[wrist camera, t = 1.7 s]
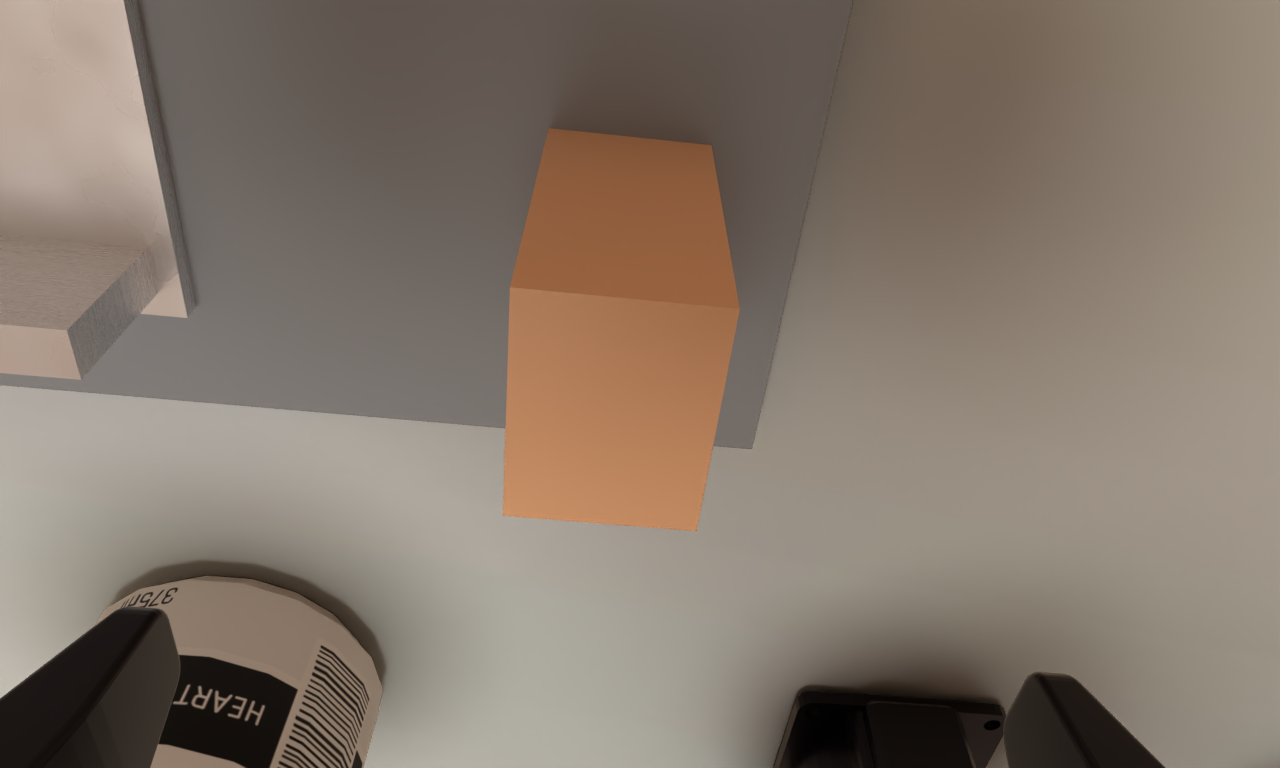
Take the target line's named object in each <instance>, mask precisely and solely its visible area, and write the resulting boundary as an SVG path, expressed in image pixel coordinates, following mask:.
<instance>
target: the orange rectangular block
mask: <svg viewBox="0 0 1280 768" xmlns="http://www.w3.org/2000/svg"><path fill="white" fill-rule="evenodd" d="M739 311H740V307H739V301H738V296H737V290H736V284H735V278H734V273H733V267H732V261H731V255H730V249H729V244H728V238H727V232H726V226H725V220H724V215H723V209H722V203H721V197H720V191H719V186H718V180H717V174H716V168H715V163H714V157H713V151H712V145H705V144H695V143H686V142H676V141H667V140H657V139H648V138H638V137H629V136H619V135H609V134H600V133H590V132H581V131H571V130H562V129H552V128H549V129H548V133H547V137H546V141H545V145H544V149H543V154H542V158H541V162H540V166H539V170H538V174H537V178H536V182H535V186H534V190H533V195H532V199H531V203H530V207H529V211H528V215H527V219H526V223H525V227H524V231H523V235H522V240H521V244H520V248H519V252H518V256H517V260H516V264H515V268H514V272H513V276H512V280H511V285H510V299H509V332H508V366H507V399H506V433H505V466H504V500H503V516H514V517H527V518H539V519H552V520H564V521H577V522H589V523H602V524H614V525H627V526H639V527H652V528H664V529H677V530H689V531H697V527H698V521H699V516H700V511H701V506H702V501H703V496H704V491H705V485H706V480H707V475H708V470H709V465H710V460H711V455H712V449H713V444H714V439H715V434H716V429H717V424H718V419H719V413H720V408H721V403H722V398H723V393H724V388H725V383H726V377H727V372H728V367H729V362H730V357H731V352H732V347H733V341H734V336H735V331H736V326H737V321H738V316H739Z"/></svg>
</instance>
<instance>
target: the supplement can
mask: <svg viewBox="0 0 1280 768" xmlns="http://www.w3.org/2000/svg"><path fill="white" fill-rule="evenodd" d="M128 606H132V607H146V608H158V609H162V610H163V611H164V612H165V613H166V614H167V616H168V618H169V621H170V625H171V628H172V632H173V636H174V639H175V643H176V647H177V650H178V654H179V658H180V676H179V681H178V685H177V688H176V691H175V694H174V697H173V700H172V703H171V706H170V709H169V712H168V715H167V718H166V721H165V725H164V728H163V731H162V734H161V737H160V740H159V743H158V746H157V749H156V752H155V755H154V758H153V761H152V764H151V767H150V768H364V764H365V760H366V757H367V753H368V749H369V746H370V742H371V738H372V735H373V731H374V727H375V724H376V720H377V715H378V711H379V706H380V701H381V696H382V691H383V688H382V686H381V683H380V680H379V677H378V675H377V672H376V669H375V666H374V663H373V661H372V658H371V656H370V655H369V654H368V653H367V652H366V651H365V650H364V649H363V648H362V647H361V646H360V645H359V642H358V640H357V639H356V638H355V637H354V636H353V635H352V634H351V633H350V632H349V630H348V629H347V628H346V627H345V626H344V625H343V624H342V623H341V622H340V621H339V620H338V619H337V618H336V616H335V615H334V614H332V613H330V612H329V611H327V610H325V609H324V608H322V607H320V606H318V605H317V604H315V603H313V602H312V601H310V600H308V599H307V598H305V597H303V596H301V595H300V594H298V593H296V592H293V591H290V590H286V589H283V588H280V587H277V586H273V585H270V584H267V583H264V582H260V581H257V580H254V579H245V578H232V577H218V576H202V577H197V578H191V579H186V580H180V581H175V582H170V583H165V584H162V585H157V586H151V587H146V588H141V589H138V590H137V591H135V592H133V593H132V594H130V595H128V596H127V597H125V598H123V599H121V600H120V601H118V602H116V603H115V604H113V605H111V606H110V607H108V608H106V609H105V610H104V612H103V613H102V615H101V616H100V618H99V620H98V621H97V623H96V624H95V625H97V624H98V623H99V622H100V621H102V620H103V619H104V618H106V617H107V616H108V615H110V614H111V613H112V612H114V611H115V610H117V609H120V608H122V607H128Z"/></svg>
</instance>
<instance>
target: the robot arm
mask: <svg viewBox="0 0 1280 768" xmlns="http://www.w3.org/2000/svg"><path fill="white" fill-rule="evenodd" d="M179 676H180V658H179V654H178V650H177V647H176V643H175V639H174V636H173V632H172V628H171V625H170V621H169V618H168V616H167V614H166V613H165V612H164V611H163V610H162V609H158V608H146V607H132V606H128V607H122V608H120V609H117V610H115V611H114V612H112V613H111V614H110V615H108V616H107V617H106V618H104V619H103V620H102V621H100V622H99V623H98V624H97V625H95V626H94V627H93V628H91V629H90V630H89V631H87V632H86V633H85V634H84V635H82V636H81V637H80V638H78V639H77V640H76V641H74V642H73V643H72V644H71V645H69V646H68V647H67V648H65V649H64V650H63V651H61V652H60V653H59V654H58V655H56V656H55V657H54V658H52V659H51V660H50V661H48V662H47V663H46V664H44V665H43V666H42V667H41V668H39V669H38V670H37V671H35V672H34V673H33V674H31V675H30V676H29V677H28V678H26V679H25V680H24V681H22V682H21V683H20V684H18V685H17V686H16V687H15V688H13V689H12V690H11V691H9V692H8V693H7V694H5V695H4V696H3V697H2V698H0V768H150V767H151V764H152V761H153V758H154V755H155V752H156V749H157V746H158V743H159V740H160V737H161V734H162V731H163V728H164V725H165V721H166V718H167V715H168V712H169V709H170V706H171V703H172V700H173V697H174V694H175V691H176V688H177V685H178V681H179ZM1003 735H1004V744H1005V749H1006V755H1007V760H1008V766H1009V768H1165V767H1164V766H1163V765H1162V764H1161V763H1160V762H1159V761H1158V760H1157V759H1156V758H1155V757H1154V756H1153V755H1152V754H1151V753H1150V752H1149V751H1148V750H1147V749H1146V748H1145V747H1144V746H1143V745H1142V744H1141V743H1140V742H1139V741H1138V740H1137V739H1136V738H1135V737H1134V736H1133V735H1132V734H1131V733H1130V732H1129V731H1128V730H1127V729H1126V728H1125V727H1124V726H1123V725H1122V724H1121V723H1120V722H1119V721H1118V720H1117V719H1116V718H1115V717H1114V716H1113V715H1112V714H1111V713H1110V712H1109V711H1108V710H1107V709H1106V708H1105V707H1104V706H1103V705H1102V704H1101V703H1100V702H1099V701H1098V700H1097V699H1096V698H1095V697H1094V696H1093V695H1092V694H1091V693H1090V692H1089V691H1088V690H1087V689H1086V688H1085V687H1084V686H1083V685H1082V684H1081V683H1080V682H1078V681H1077V680H1076V679H1075V678H1073V677H1071V676H1069V675H1066V674H1057V673H1043V672H1035V673H1033V674H1031V675H1030V676H1028V677H1027V679H1026V680H1025V682H1024V684H1023V686H1022V688H1021V690H1020V691H1019V693H1018V695H1017V697H1016V699H1015V701H1014V702H1013V704H1012V706H1011V708H1010V710H1009V712H1008V713H1007V715H1006V713H1005V711H1004V708H1003V707H1001V706H1000V705H997V704H990V703H976V702H962V701H947V700H933V699H919V698H905V697H890V696H876V695H862V694H848V693H833V692H819V691H810V692H806V693H803V694H801V695H800V696H798V697H797V699H796V700H795V703H794V706H793V709H792V713H791V716H790V719H789V722H788V725H787V728H786V731H785V734H784V737H783V740H782V743H781V746H780V749H779V753H778V756H777V759H776V762H775V765H774V768H985V767H986V766H987V764H988V762H989V760H990V758H991V757H992V755H993V753H994V751H995V749H996V747H997V746H998V744H999V742H1000V740H1001V738H1002V737H1003Z"/></svg>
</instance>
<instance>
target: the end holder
mask: <svg viewBox="0 0 1280 768" xmlns="http://www.w3.org/2000/svg"><path fill="white" fill-rule="evenodd" d="M196 307H197V302H196V296H195V291H194V286H193V281H192V276H191V270H190V265H189V260H188V255H187V250H186V244H185V239H184V234H183V229H182V224H181V218H180V213H179V208H178V203H177V198H176V192H175V187H174V182H173V177H172V171H171V166H170V161H169V156H168V151H167V145H166V140H165V135H164V130H163V125H162V119H161V114H160V109H159V104H158V99H157V93H156V88H155V83H154V78H153V73H152V67H151V62H150V57H149V52H148V47H147V41H146V36H145V31H144V26H143V21H142V15H141V10H140V5H139V0H0V373H6V374H18V375H29V376H41V377H52V378H64V379H76V380H82V379H83V377H84V376H85V375H86V374H87V373H88V372H89V371H90V370H91V368H92V367H93V366H94V365H95V364H96V363H97V362H98V360H99V359H100V358H101V357H102V356H103V355H104V354H105V353H106V351H107V350H108V349H109V348H110V347H111V346H112V345H113V343H114V342H115V341H116V340H117V339H118V338H119V337H120V336H121V334H122V333H123V332H124V331H125V330H126V329H127V328H128V327H129V325H130V324H131V323H132V322H133V321H134V320H135V319H136V317H137V316H138V315H139V314H148V315H159V316H170V317H181V318H188V317H189V315H190V314H191V313H192V312H193V310H194V309H195V308H196Z"/></svg>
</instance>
